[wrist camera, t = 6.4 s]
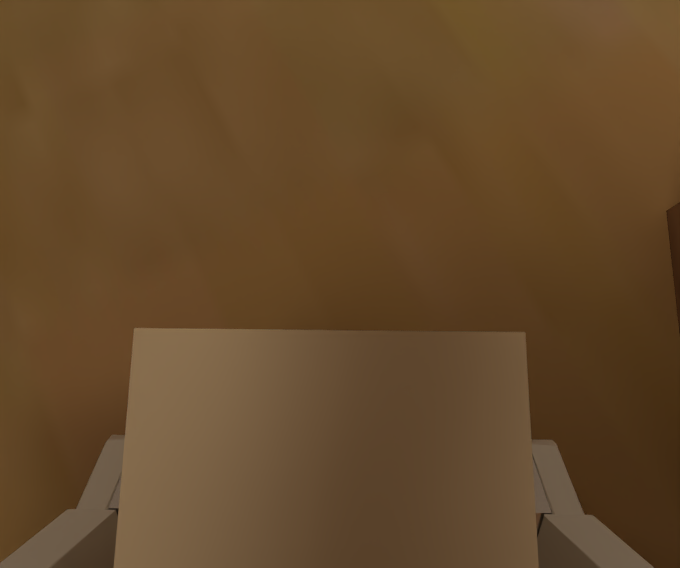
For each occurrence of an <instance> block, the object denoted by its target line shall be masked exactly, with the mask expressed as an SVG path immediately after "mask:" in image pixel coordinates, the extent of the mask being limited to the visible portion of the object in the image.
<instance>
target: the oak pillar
mask: <svg viewBox="0 0 680 568" xmlns="http://www.w3.org/2000/svg"><path fill="white" fill-rule="evenodd" d="M114 568H539V563H538V545H537V528H536V510H535V492H534V475H533V457H532V440H531V422H530V405H529V387H528V370H527V352H526V335H525V332H477V331H380V330H282V329H184V328H134V335H133V347H132V359H131V370H130V382H129V394H128V405H127V417H126V429H125V440H124V452H123V464H122V475H121V487H120V499H119V510H118V522H117V534H116V545H115V557H114Z"/></svg>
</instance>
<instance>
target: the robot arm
mask: <svg viewBox="0 0 680 568" xmlns="http://www.w3.org/2000/svg"><path fill="white" fill-rule="evenodd" d="M124 440H125V435H112V436H111V437H110V438H109V439H108V440H107V441H106V443H105V445H104V447H103V449H102V451H101V454H100V456H99V458H98V460H97V463H96V465H95V467H94V469H93V472H92V474H91V476H90V478H89V480H88V483H87V485H86V487H85V489H84V492H83V494H82V496H81V498H80V501H79V503H78V505H77V507H76V509H67V510H66V511H64V512H63V513H62V514H61V515H59V516H58V517H57V518H56V519H54V520H53V521H52V522H51V523H49V524H48V525H47V526H46V527H44V528H43V529H42V530H41V531H39V532H38V533H37V534H36V535H34V536H33V537H32V538H31V539H29V540H28V541H27V542H26V543H24V544H23V545H22V546H21V547H19V548H18V549H17V550H16V551H14V552H13V553H12V554H11V555H9V556H8V557H7V558H6V559H4V560H3V561H2V562H1V563H0V568H114V557H115V545H116V534H117V522H118V510H119V499H120V487H121V475H122V464H123V452H124ZM532 457H533V475H534V492H535V510H536V528H537V545H538V563H539V568H654V567H653V566H652V565H650V564H649V563H648V562H647V561H646V560H645V559H643V558H642V557H641V556H640V555H639V554H638V553H636V552H635V551H634V550H633V549H632V548H631V547H630V546H628V545H627V544H626V543H625V542H624V541H623V540H621V539H620V538H619V537H618V536H617V535H616V534H614V533H613V532H612V531H611V530H610V529H609V528H607V527H606V526H605V525H604V524H603V523H602V522H600V521H599V520H598V519H597V518H596V517H595V516H594V515H585V514H584V512H583V509H582V507H581V504H580V502H579V499H578V497H577V494H576V492H575V489H574V487H573V484H572V482H571V479H570V477H569V474H568V472H567V469H566V467H565V464H564V462H563V459H562V457H561V454H560V452H559V449H558V447H557V444H556V443H555V442H554V441H553V440H532Z"/></svg>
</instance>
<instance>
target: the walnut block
mask: <svg viewBox="0 0 680 568" xmlns="http://www.w3.org/2000/svg"><path fill="white" fill-rule="evenodd" d="M666 212H667V221H668V230H669V240H670V249H671V258H672V267H673V276H674V286H675V295H676V304H677V313H678V322H679V332H680V203H678V204H677V205H675V206H674V207H672V208H671V209H669V210H667V211H666Z"/></svg>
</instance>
